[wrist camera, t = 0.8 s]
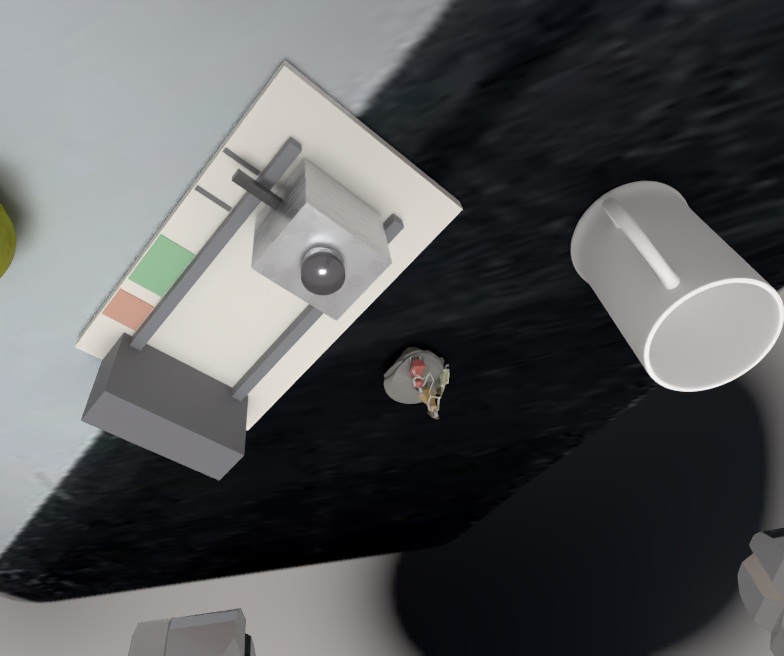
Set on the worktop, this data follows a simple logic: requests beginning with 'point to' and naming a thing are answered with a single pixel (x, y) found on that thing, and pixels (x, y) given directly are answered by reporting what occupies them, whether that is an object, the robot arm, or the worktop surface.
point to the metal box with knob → (317, 239)
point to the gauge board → (242, 283)
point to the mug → (675, 287)
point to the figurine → (417, 378)
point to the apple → (6, 241)
